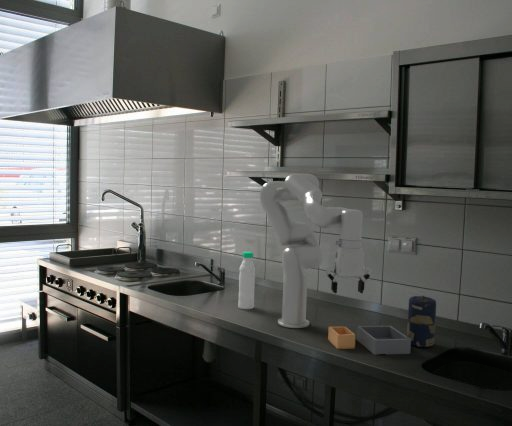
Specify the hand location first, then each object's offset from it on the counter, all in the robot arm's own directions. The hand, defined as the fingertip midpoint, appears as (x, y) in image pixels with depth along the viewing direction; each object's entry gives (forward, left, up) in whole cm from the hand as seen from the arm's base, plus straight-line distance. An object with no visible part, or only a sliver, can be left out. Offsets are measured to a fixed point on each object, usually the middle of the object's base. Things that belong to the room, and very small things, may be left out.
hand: (347, 292), depth 182 cm
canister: (+2, +28, -19) cm, 34 cm away
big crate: (+3, +13, -19) cm, 23 cm away
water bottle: (-52, -27, -19) cm, 61 cm away
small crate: (-1, -1, -19) cm, 19 cm away
